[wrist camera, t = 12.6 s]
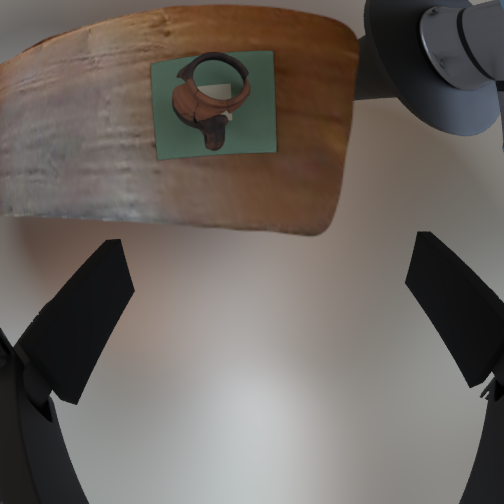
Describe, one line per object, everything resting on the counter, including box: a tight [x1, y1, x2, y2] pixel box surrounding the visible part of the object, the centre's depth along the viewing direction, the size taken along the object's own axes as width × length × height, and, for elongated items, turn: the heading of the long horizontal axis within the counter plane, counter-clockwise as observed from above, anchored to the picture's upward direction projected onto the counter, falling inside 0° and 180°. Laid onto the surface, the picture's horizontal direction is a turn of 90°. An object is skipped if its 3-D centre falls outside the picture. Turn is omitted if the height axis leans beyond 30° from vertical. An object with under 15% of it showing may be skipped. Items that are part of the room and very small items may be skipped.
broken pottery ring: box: [171, 52, 251, 151], centre depth 29 cm, size 12×10×8 cm
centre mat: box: [151, 51, 277, 160], centre depth 31 cm, size 16×14×1 cm
